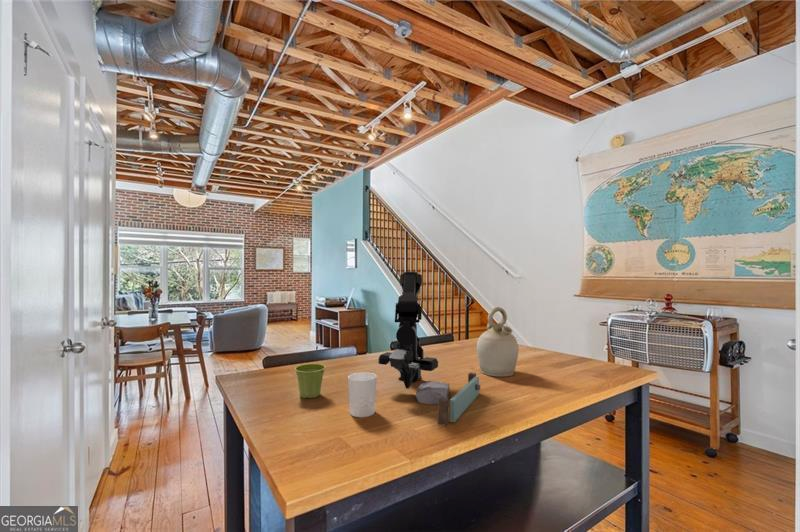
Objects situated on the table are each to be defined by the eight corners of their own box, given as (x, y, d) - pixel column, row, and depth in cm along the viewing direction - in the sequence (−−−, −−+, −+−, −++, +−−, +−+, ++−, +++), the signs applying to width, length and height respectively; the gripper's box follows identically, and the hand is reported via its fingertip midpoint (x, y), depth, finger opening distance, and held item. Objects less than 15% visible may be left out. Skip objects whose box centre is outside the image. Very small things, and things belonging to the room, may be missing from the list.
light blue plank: (438, 423, 92) (438, 400, 92) (470, 391, 117) (470, 372, 117) (445, 425, 91) (445, 401, 91) (476, 392, 116) (476, 373, 116)
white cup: (365, 421, 94) (365, 382, 94) (341, 414, 98) (341, 377, 98) (382, 411, 100) (382, 374, 100) (360, 405, 105) (360, 370, 105)
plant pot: (331, 395, 113) (331, 367, 113) (305, 403, 106) (305, 373, 106) (314, 388, 119) (314, 362, 120) (288, 395, 113) (288, 367, 113)
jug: (524, 378, 131) (524, 309, 131) (481, 378, 131) (481, 309, 131) (511, 367, 146) (511, 305, 146) (473, 367, 146) (473, 305, 147)
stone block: (415, 409, 107) (449, 405, 105) (412, 393, 107) (445, 388, 105) (421, 397, 118) (451, 393, 116) (418, 382, 119) (448, 378, 117)
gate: (449, 421, 93) (449, 399, 93) (475, 393, 114) (475, 376, 114) (458, 423, 92) (458, 401, 92) (482, 395, 113) (482, 377, 113)
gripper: (369, 340, 112) (369, 391, 112) (424, 346, 104) (424, 401, 104) (387, 335, 122) (387, 381, 122) (438, 340, 114) (438, 390, 113)
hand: (407, 388), depth 115 cm, fingers closed
